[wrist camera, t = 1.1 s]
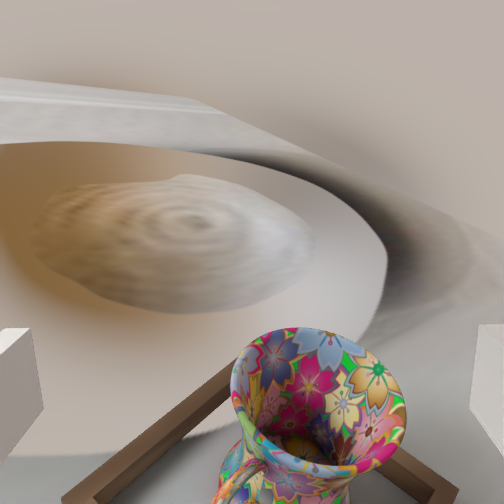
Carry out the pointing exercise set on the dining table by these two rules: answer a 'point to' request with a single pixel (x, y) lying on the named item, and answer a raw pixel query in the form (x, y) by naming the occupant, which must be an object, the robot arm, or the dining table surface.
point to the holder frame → (190, 415)
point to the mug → (308, 419)
